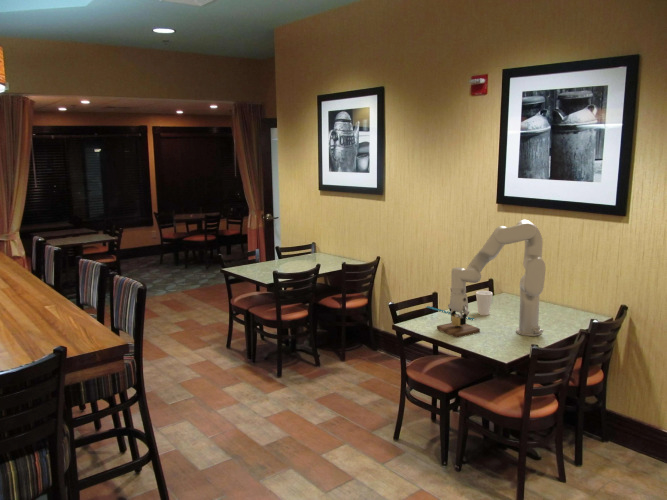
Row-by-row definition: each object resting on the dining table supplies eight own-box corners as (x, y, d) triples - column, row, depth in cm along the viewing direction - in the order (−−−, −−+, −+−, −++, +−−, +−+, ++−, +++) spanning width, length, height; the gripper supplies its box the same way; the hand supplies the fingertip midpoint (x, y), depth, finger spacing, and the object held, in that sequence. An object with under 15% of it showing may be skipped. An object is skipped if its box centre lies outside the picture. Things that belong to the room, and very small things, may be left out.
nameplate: (471, 321, 307) (476, 319, 310) (471, 320, 307) (476, 318, 310) (424, 308, 336) (429, 306, 339) (424, 307, 336) (429, 305, 339)
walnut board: (479, 332, 287) (479, 328, 287) (456, 337, 280) (456, 334, 280) (459, 324, 301) (459, 321, 301) (437, 329, 294) (437, 325, 294)
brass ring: (467, 324, 289) (467, 316, 288) (457, 326, 286) (457, 318, 285) (459, 321, 295) (459, 313, 294) (449, 323, 292) (449, 315, 291)
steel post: (462, 327, 290) (462, 315, 289) (457, 328, 288) (457, 316, 287) (458, 325, 293) (458, 313, 291) (453, 326, 291) (453, 314, 290)
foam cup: (492, 316, 314) (493, 294, 312) (476, 316, 316) (476, 294, 314) (491, 311, 323) (491, 290, 321) (475, 311, 325) (475, 290, 323)
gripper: (475, 293, 281) (474, 325, 284) (453, 286, 296) (453, 317, 299) (463, 295, 278) (463, 328, 281) (442, 288, 293) (442, 319, 296)
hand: (458, 322), depth 290 cm, fingers closed on brass ring, 7 cm apart
